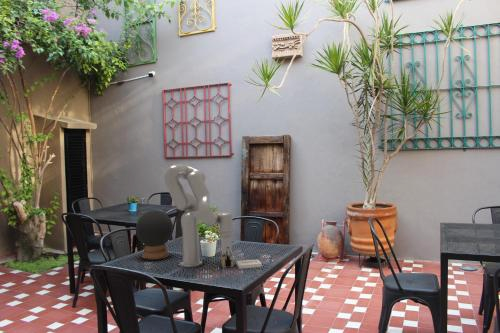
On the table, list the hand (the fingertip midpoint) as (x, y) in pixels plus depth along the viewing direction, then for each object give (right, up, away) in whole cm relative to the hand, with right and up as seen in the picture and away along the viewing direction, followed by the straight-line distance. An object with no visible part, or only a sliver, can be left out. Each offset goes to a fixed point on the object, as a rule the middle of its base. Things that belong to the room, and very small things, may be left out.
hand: (227, 264), depth 257 cm
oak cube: (0, -1, 0) cm, 1 cm away
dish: (+13, 0, -2) cm, 13 cm away
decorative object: (-47, -1, +25) cm, 53 cm away
